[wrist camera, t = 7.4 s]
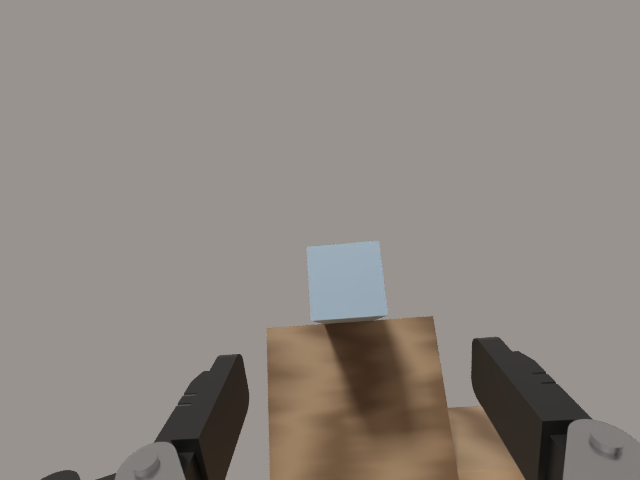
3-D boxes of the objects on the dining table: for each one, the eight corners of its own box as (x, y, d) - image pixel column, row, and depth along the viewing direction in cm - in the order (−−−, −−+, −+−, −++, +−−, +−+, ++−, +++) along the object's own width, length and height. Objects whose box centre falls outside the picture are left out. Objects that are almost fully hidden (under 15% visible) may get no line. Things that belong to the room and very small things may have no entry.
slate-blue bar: (363, 323, 36) (360, 291, 37) (387, 315, 15) (378, 240, 16) (332, 326, 36) (329, 294, 37) (311, 320, 15) (306, 246, 16)
